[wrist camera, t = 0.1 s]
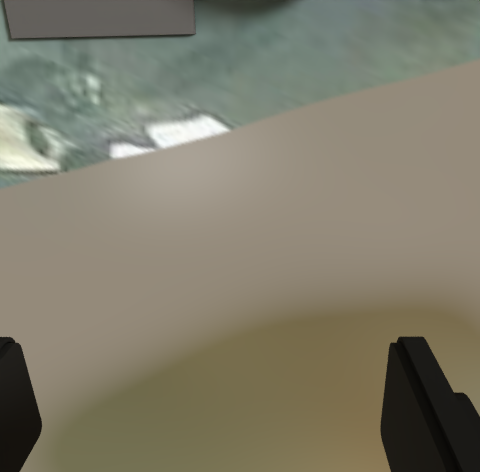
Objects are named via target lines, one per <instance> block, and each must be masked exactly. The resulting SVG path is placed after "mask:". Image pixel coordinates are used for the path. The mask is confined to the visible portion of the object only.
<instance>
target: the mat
mask: <svg viewBox="0 0 480 472" xmlns="http://www.w3.org/2000/svg"><path fill="white" fill-rule="evenodd" d="M4 3H5V8H6V13H7V18H8V23H9V28H10V33H11V38H47V37H89V36H131V35H173V34H196V29H195V11H194V0H4Z"/></svg>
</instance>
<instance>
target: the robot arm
mask: <svg viewBox="0 0 480 472" xmlns="http://www.w3.org/2000/svg"><path fill="white" fill-rule="evenodd" d="M41 429H42V421H41V417H40V414H39V410H38V406H37V403H36V399H35V395H34V391H33V388H32V384H31V381H30V377H29V373H28V370H27V366H26V362H25V359H24V355H23V351H22V348H21V345H20V344H19V343H15V340H13V338H11V337H0V472H19V471H20V470H21V468H22V466H23V465H24V463H25V461H26V459H27V457H28V456H29V454H30V452H31V450H32V449H33V447H34V445H35V443H36V442H37V440H38V438H39V436H40V433H41ZM381 438H382V442H383V445H384V449H385V452H386V456H387V459H388V463H389V466H390V469H391V472H480V416H479V415H478V413H477V411H476V410H475V408H474V406H473V404H472V402H471V401H470V399H469V398H468V396H467V395H466V394H464V393H454V392H453V390H452V388H451V387H450V385H449V383H448V381H447V379H446V377H445V375H444V373H443V371H442V370H441V368H440V366H439V364H438V362H437V360H436V358H435V356H434V355H433V353H432V351H431V349H430V347H429V345H428V343H427V342H426V340H425V339H424V337H399V338H398V340H397V343H391V344H390V347H389V355H388V364H387V372H386V381H385V390H384V399H383V408H382V417H381Z"/></svg>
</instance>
